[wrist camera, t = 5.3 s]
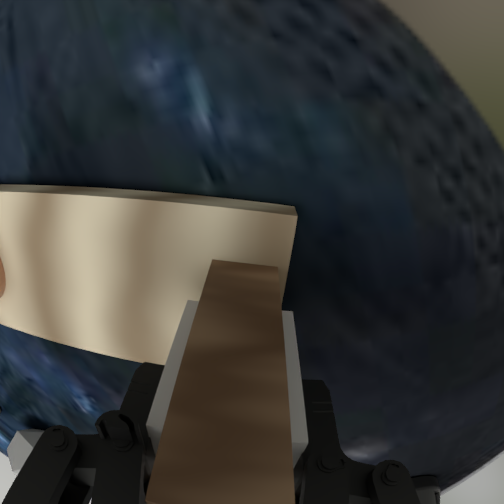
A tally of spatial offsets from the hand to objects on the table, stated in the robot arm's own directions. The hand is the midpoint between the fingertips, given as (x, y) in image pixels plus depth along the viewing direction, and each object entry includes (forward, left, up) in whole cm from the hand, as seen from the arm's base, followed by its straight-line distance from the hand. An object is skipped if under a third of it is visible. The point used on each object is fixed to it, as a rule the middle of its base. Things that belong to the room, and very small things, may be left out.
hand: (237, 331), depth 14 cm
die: (+21, +25, -4) cm, 33 cm away
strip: (+11, 0, -3) cm, 11 cm away
